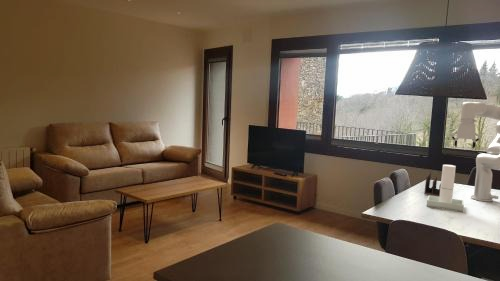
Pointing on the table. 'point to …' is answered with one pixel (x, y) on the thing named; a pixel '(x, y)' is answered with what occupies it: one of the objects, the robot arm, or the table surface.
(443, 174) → the cylindrical container
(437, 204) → the tray
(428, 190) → the letter holder
